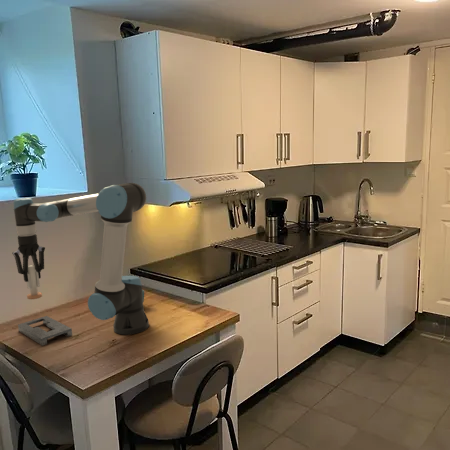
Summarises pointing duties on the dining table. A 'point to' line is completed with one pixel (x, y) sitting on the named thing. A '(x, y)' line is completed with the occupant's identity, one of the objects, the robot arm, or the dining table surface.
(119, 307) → the robot arm
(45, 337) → the keyhole plate
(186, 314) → the dining table surface
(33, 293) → the peg
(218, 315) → the dining table surface
